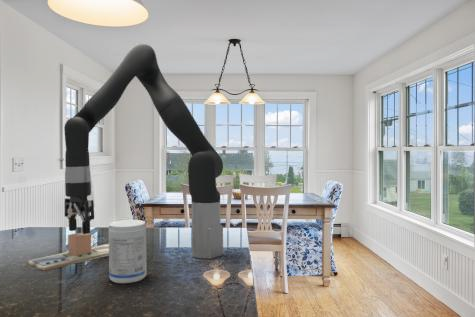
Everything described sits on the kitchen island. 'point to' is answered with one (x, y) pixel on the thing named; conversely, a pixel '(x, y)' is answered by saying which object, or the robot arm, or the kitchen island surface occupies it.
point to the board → (68, 258)
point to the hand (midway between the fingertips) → (79, 231)
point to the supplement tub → (127, 251)
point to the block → (79, 244)
